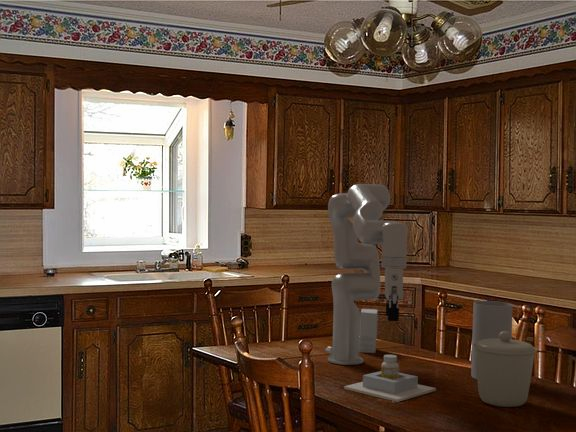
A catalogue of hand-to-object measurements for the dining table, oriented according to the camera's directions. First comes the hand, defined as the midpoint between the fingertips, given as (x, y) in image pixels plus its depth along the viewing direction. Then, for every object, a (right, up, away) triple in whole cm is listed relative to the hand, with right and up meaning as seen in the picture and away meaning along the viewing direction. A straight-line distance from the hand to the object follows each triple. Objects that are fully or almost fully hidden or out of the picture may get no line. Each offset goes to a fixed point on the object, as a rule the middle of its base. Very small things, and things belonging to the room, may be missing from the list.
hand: (392, 318), depth 242 cm
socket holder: (-1, -22, +1) cm, 22 cm away
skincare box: (-1, -21, +61) cm, 64 cm away
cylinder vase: (+35, -23, +19) cm, 46 cm away
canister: (+31, -24, -11) cm, 40 cm away
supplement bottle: (-1, -21, +1) cm, 21 cm away
